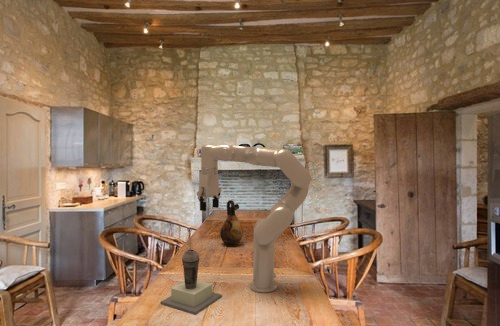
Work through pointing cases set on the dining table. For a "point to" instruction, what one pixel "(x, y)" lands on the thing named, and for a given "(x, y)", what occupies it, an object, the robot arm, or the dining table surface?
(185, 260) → the beverage cup
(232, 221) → the ceramic jug
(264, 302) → the dining table surface
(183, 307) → the plinth
